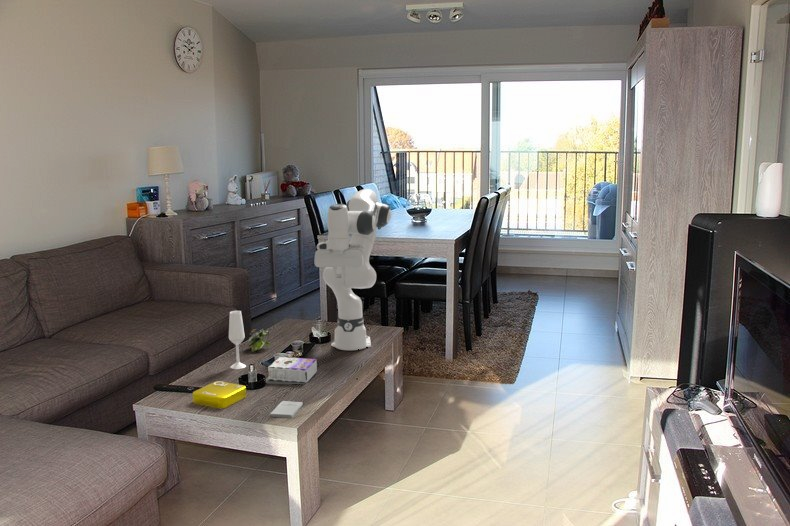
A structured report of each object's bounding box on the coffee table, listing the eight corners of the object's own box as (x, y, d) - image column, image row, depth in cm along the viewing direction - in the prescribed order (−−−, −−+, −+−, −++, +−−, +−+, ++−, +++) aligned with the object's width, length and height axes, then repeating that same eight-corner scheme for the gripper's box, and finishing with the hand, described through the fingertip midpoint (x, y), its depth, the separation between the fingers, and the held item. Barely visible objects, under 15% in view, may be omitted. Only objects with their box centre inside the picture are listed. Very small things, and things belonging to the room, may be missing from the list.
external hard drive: (269, 418, 244) (281, 404, 256) (292, 419, 242) (303, 405, 254) (269, 413, 244) (281, 400, 256) (292, 414, 242) (302, 401, 254)
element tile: (190, 404, 257) (189, 391, 257) (217, 390, 271) (216, 379, 270) (222, 410, 251) (222, 397, 250) (248, 396, 264) (248, 384, 263)
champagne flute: (243, 363, 303) (240, 309, 299) (248, 367, 297) (245, 312, 293) (228, 365, 300) (225, 311, 295) (233, 370, 294) (230, 314, 290)
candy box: (317, 372, 289) (279, 369, 292) (317, 358, 288) (279, 356, 291) (306, 383, 276) (267, 380, 279) (306, 369, 275) (267, 366, 278)
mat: (274, 370, 293) (274, 369, 292) (313, 371, 290) (313, 371, 290) (262, 383, 277) (262, 382, 277) (304, 384, 275) (304, 384, 275)
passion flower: (254, 358, 327) (256, 334, 332) (275, 356, 324) (276, 331, 329) (242, 351, 317) (244, 326, 322) (263, 348, 314) (265, 323, 319)
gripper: (365, 243, 287) (365, 276, 289) (316, 243, 289) (317, 275, 292) (362, 245, 281) (363, 279, 283) (312, 245, 283) (313, 278, 285)
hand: (339, 277), depth 287 cm, fingers closed
